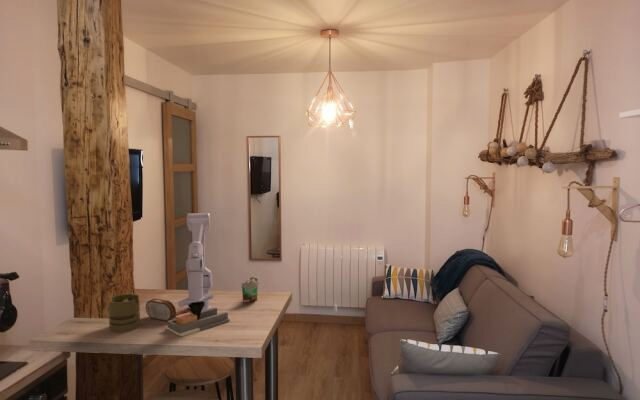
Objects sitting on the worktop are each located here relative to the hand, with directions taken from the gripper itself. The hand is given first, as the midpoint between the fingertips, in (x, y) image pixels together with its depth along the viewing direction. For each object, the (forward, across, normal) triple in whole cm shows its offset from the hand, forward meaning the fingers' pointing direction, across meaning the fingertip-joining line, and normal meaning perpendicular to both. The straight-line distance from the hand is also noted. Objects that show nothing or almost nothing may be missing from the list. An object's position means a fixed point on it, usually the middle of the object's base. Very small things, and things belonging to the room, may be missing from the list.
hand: (196, 319), depth 173 cm
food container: (+3, +35, +9) cm, 37 cm away
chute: (+2, +1, 0) cm, 3 cm away
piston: (+3, -21, +20) cm, 29 cm away
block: (+1, -4, 0) cm, 5 cm away
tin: (+3, -7, +18) cm, 19 cm away
